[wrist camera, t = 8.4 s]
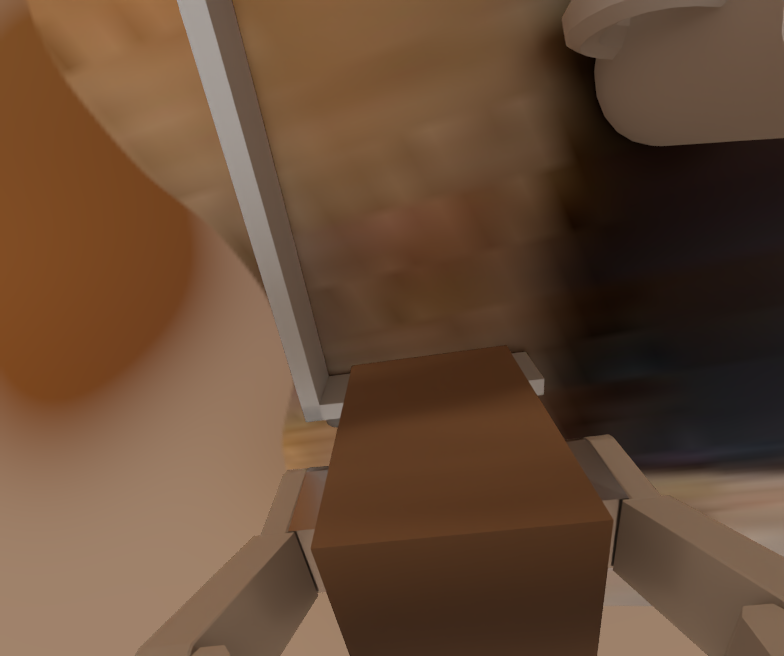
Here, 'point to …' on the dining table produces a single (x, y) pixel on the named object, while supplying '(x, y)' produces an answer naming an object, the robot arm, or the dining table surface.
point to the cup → (684, 67)
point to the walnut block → (458, 516)
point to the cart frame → (269, 205)
